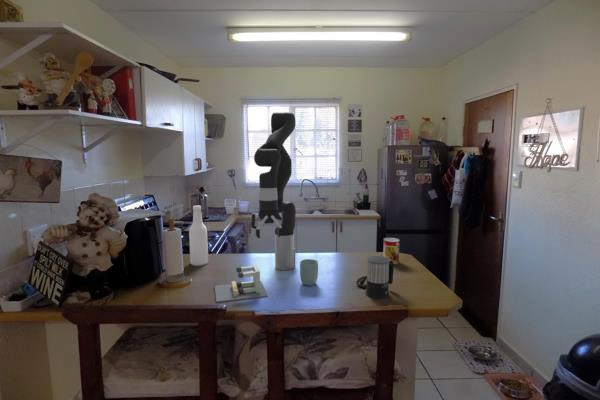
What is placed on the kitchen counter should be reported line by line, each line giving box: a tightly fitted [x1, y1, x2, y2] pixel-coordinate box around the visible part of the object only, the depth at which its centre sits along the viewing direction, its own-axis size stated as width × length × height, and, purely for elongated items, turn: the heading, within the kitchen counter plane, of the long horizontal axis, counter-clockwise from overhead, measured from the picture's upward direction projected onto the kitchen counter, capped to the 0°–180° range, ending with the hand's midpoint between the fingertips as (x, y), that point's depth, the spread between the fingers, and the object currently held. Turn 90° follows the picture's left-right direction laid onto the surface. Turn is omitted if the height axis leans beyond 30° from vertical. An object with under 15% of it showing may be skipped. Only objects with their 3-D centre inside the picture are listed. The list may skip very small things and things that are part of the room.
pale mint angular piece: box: [235, 264, 261, 294], centre depth 144 cm, size 9×9×9 cm
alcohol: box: [188, 204, 209, 267], centre depth 177 cm, size 9×9×30 cm
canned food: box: [382, 237, 400, 265], centre depth 181 cm, size 8×8×12 cm
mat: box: [214, 280, 269, 303], centre depth 143 cm, size 20×16×3 cm
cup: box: [299, 258, 319, 287], centre depth 151 cm, size 8×8×10 cm
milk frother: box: [356, 255, 395, 300], centre depth 144 cm, size 14×16×15 cm
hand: (268, 237), depth 144 cm, fingers open, 8 cm apart
